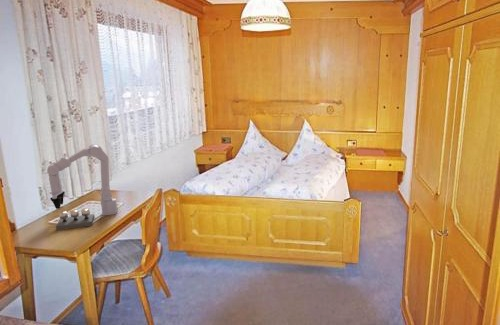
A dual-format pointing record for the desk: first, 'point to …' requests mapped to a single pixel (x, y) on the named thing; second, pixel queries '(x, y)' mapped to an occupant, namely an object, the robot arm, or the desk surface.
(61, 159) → the robot arm
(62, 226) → the knob panel
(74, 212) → the knob mid
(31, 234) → the desk surface
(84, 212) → the knob
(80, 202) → the desk surface
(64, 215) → the knob
